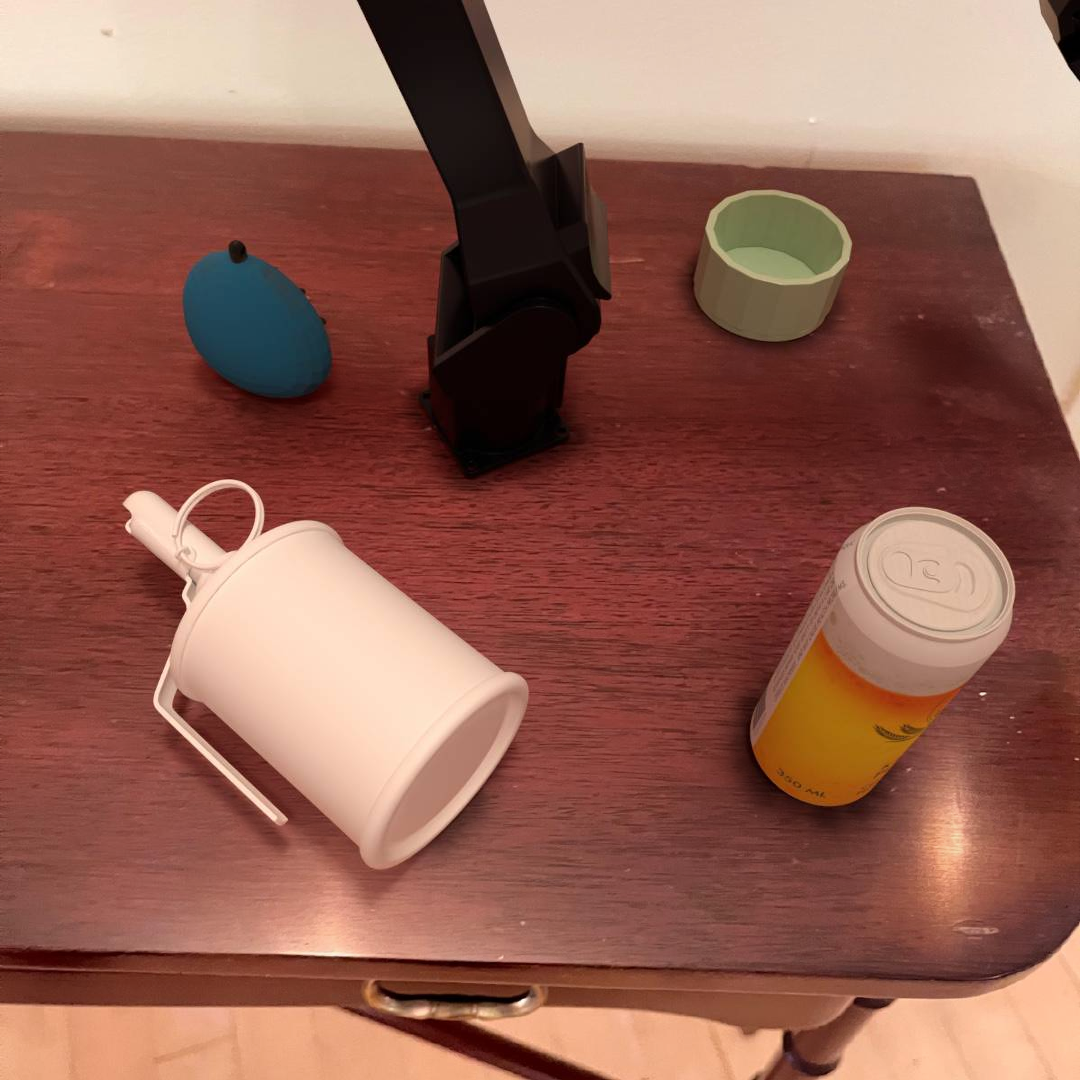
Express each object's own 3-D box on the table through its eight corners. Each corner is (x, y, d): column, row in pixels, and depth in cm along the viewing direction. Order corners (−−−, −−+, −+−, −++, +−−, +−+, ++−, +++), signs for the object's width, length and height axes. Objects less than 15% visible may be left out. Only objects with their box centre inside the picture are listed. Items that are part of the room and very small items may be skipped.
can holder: (745, 359, 60) (762, 301, 56) (667, 271, 64) (678, 212, 60) (857, 315, 63) (881, 258, 59) (775, 234, 67) (793, 175, 63)
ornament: (356, 376, 58) (336, 234, 49) (319, 433, 55) (291, 293, 47) (226, 337, 59) (186, 191, 51) (184, 391, 56) (134, 246, 48)
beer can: (878, 825, 44) (1034, 667, 32) (740, 796, 44) (842, 628, 32) (879, 702, 47) (1021, 515, 35) (751, 675, 48) (847, 482, 36)
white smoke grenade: (547, 705, 45) (246, 468, 51) (508, 656, 36) (152, 379, 43) (393, 901, 43) (101, 629, 49) (313, 899, 34) (-27, 569, 41)
